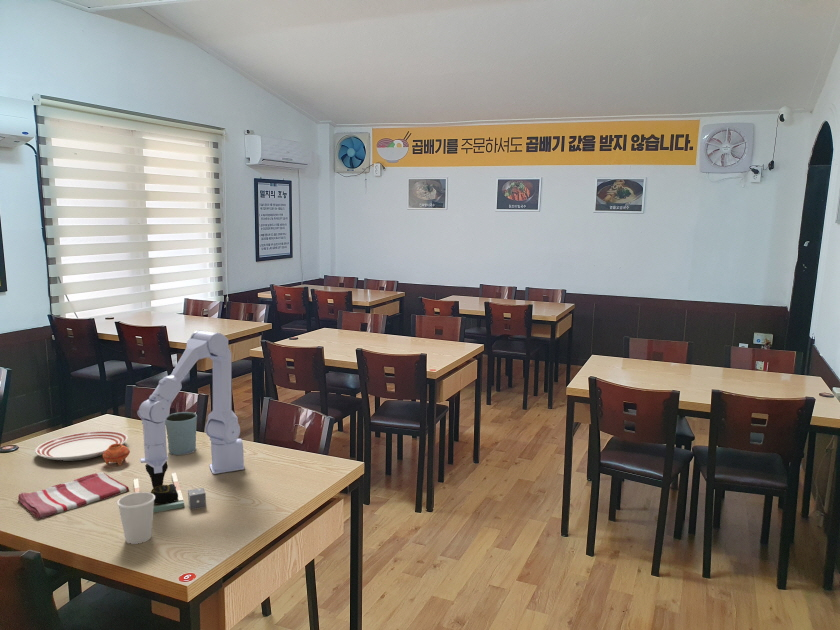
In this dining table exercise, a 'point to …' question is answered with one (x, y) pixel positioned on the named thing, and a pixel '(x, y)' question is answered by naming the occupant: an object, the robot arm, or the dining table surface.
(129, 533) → the dixie cup
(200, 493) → the die
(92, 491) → the dish towel
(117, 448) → the pot
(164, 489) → the tape measure
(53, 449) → the dinner plate
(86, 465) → the dining table surface
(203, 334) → the robot arm
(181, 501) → the track
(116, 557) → the dining table surface
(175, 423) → the teal cylindrical container
